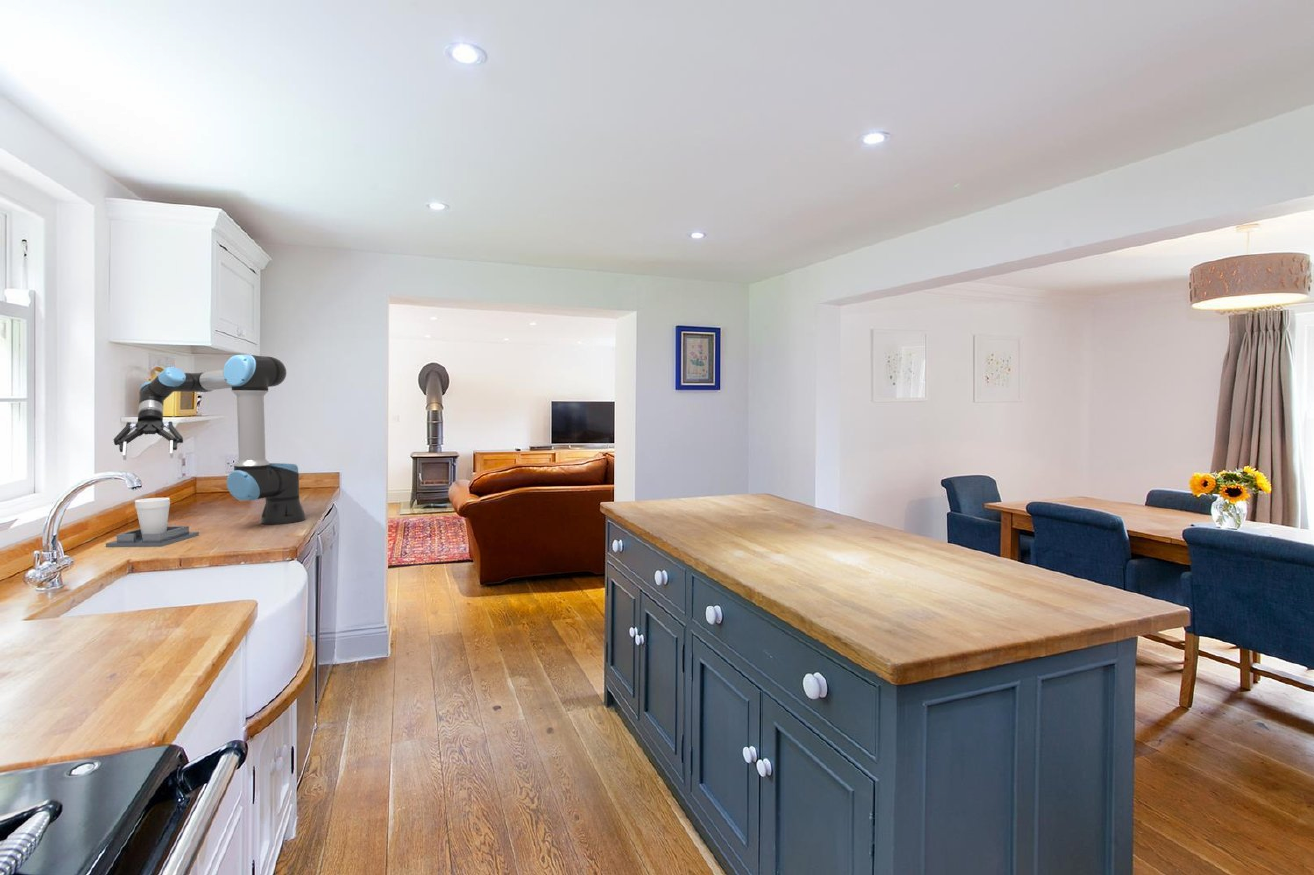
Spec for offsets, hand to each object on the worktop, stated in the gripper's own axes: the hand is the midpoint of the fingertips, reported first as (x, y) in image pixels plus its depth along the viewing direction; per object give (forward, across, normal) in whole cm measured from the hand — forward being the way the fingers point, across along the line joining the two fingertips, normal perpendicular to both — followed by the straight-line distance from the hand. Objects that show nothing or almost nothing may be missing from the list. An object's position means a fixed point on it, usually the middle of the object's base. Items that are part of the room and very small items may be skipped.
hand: (148, 456), depth 237 cm
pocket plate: (+34, -2, -5) cm, 34 cm away
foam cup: (+33, -2, -4) cm, 34 cm away
